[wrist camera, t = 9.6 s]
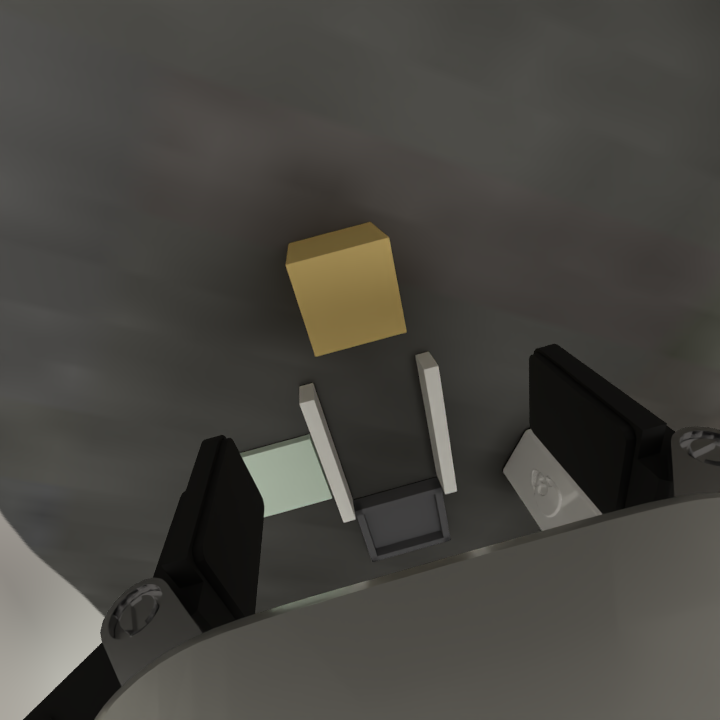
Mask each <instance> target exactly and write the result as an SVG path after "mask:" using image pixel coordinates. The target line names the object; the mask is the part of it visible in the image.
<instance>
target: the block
mask: <svg viewBox="0 0 720 720" xmlns="http://www.w3.org/2000/svg"><path fill="white" fill-rule="evenodd" d="M286 268H287V271H288V274H289V277H290V280H291V283H292V286H293V289H294V293H295V296H296V299H297V302H298V305H299V308H300V311H301V314H302V317H303V320H304V323H305V326H306V329H307V332H308V335H309V339H310V342H311V345H312V348H313V351H314V354H315V357H317V356H321V355H324V354H328V353H332V352H336V351H339V350H343V349H347V348H350V347H354V346H358V345H361V344H365V343H369V342H372V341H376V340H380V339H383V338H387V337H391V336H395V335H398V334H402V333H406V332H407V331H406V325H405V320H404V315H403V309H402V304H401V299H400V293H399V288H398V283H397V277H396V272H395V267H394V261H393V256H392V250H391V245H390V240H389V237H388V236H387V235H386V234H384V233H383V232H382V231H381V230H380V229H378V228H377V227H376V226H375V225H374V224H372V223H371V222H368V223H364V224H360V225H356V226H353V227H349V228H345V229H341V230H338V231H334V232H330V233H326V234H323V235H319V236H315V237H311V238H308V239H304V240H300V241H296V242H292V243H289V245H288V252H287V258H286Z"/></svg>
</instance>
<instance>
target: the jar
mask: <svg viewBox="0 0 720 720" xmlns="http://www.w3.org/2000/svg"><path fill="white" fill-rule="evenodd" d="M503 473H504V474H505V476H506V477H507V479H508V480H509V482H510V483H511V485H512V486H513V488H514V489H515V491H516V492H517V494H518V495H519V497H520V498H521V500H522V502H523V503H524V505H525V506H526V508H527V509H528V511H529V512H530V514H531V515H532V517H533V518H534V520H535V521H536V523H537V524H538V526H539V527H540V529H541V530H542V531H544V530H547V529H551V528H554V527H558V526H562V525H565V524H569V523H572V522H576V521H580V520H583V519H587V518H591V517H594V516H598V515H602V513H601V512H600V511H599V509H598V508H597V507H596V506H595V505H594V504H593V502H592V501H591V500H590V499H589V498H588V497H587V495H586V494H585V493H584V492H583V491H582V490H581V488H580V487H579V486H578V485H577V484H576V482H575V481H574V480H573V479H572V478H571V477H570V475H569V474H568V473H567V472H566V471H565V470H564V468H563V467H562V466H561V465H560V464H559V463H558V461H557V460H556V459H555V458H554V457H553V456H552V454H551V453H550V452H549V451H548V450H547V449H546V447H545V446H544V445H543V444H542V443H541V442H540V440H539V439H538V438H537V437H536V436H535V435H534V433H533V432H532V430H531V429H528V430H526V431H525V432H524V434H523V436H522V438H521V439H520V441H519V443H518V445H517V446H516V448H515V450H514V452H513V453H512V455H511V457H510V458H509V460H508V462H507V464H506V465H505V467H504V469H503Z"/></svg>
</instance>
